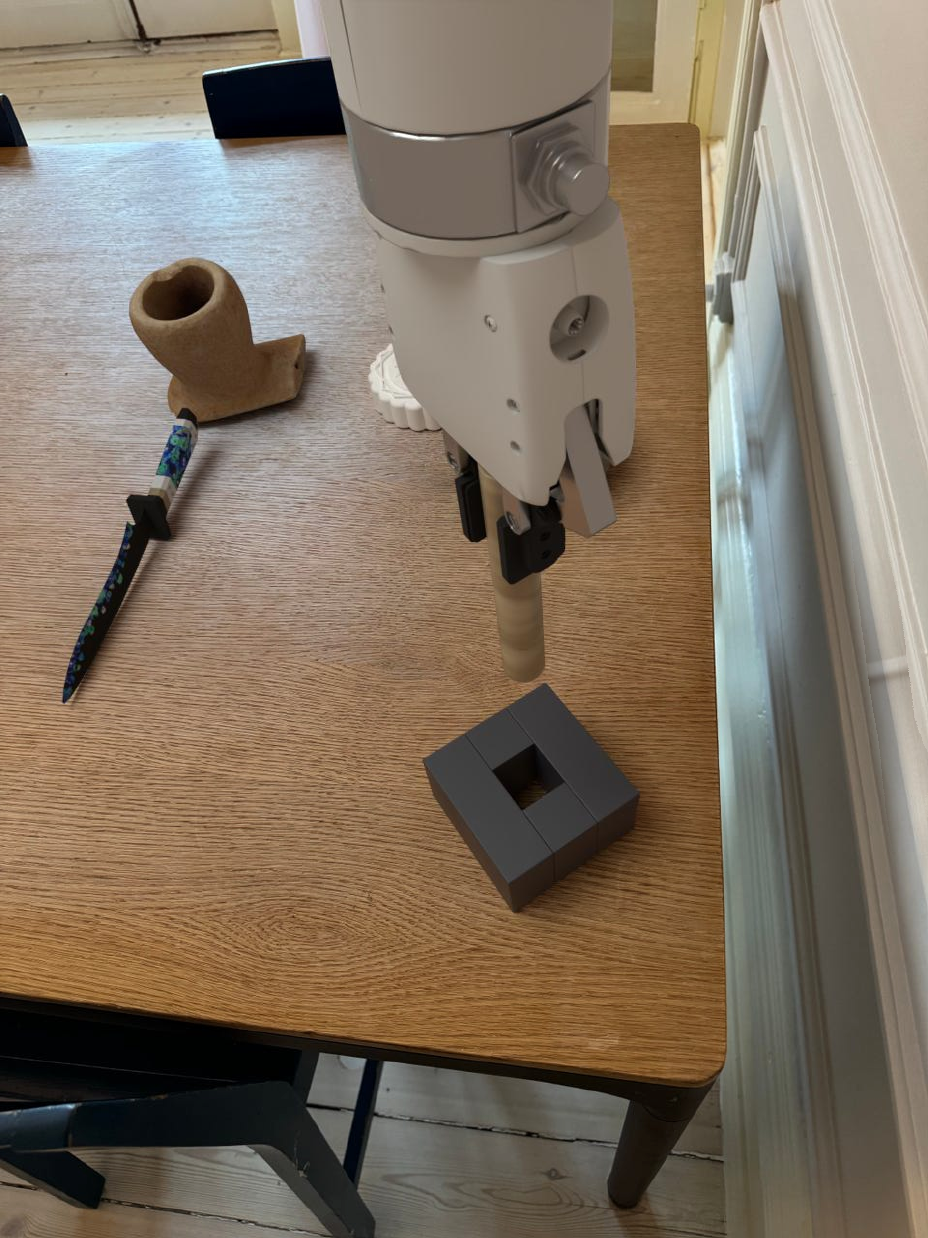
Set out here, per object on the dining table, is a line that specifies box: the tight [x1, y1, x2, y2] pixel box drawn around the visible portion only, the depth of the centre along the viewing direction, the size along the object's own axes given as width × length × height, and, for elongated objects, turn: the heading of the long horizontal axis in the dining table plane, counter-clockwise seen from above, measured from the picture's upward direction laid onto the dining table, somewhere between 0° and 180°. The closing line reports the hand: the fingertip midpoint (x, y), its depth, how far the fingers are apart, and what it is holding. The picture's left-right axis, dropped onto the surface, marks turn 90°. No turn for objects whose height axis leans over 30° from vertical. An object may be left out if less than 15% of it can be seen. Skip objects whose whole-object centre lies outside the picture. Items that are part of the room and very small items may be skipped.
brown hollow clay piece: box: [128, 257, 307, 423], centre depth 84 cm, size 15×12×15 cm
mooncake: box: [367, 343, 442, 432], centre depth 86 cm, size 12×12×4 cm
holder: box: [422, 682, 641, 914], centre depth 58 cm, size 10×10×6 cm
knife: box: [61, 408, 199, 704], centre depth 76 cm, size 31×3×4 cm, turn 165°
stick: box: [478, 463, 546, 683], centre depth 42 cm, size 2×2×16 cm
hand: (513, 543), depth 40 cm, fingers closed on stick, 2 cm apart
